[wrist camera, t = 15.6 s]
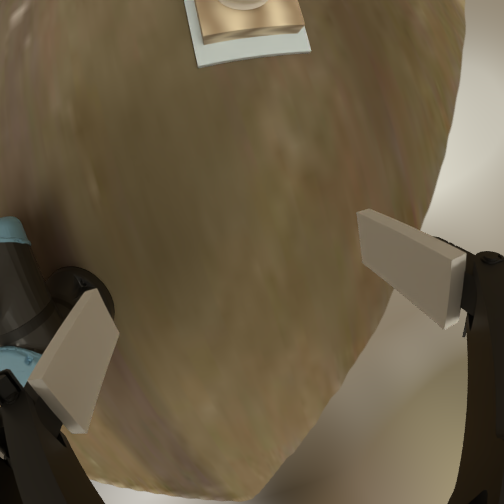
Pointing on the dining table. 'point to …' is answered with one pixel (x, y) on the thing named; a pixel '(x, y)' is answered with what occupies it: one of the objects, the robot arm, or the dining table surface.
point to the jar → (243, 4)
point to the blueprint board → (242, 44)
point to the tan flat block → (247, 20)
